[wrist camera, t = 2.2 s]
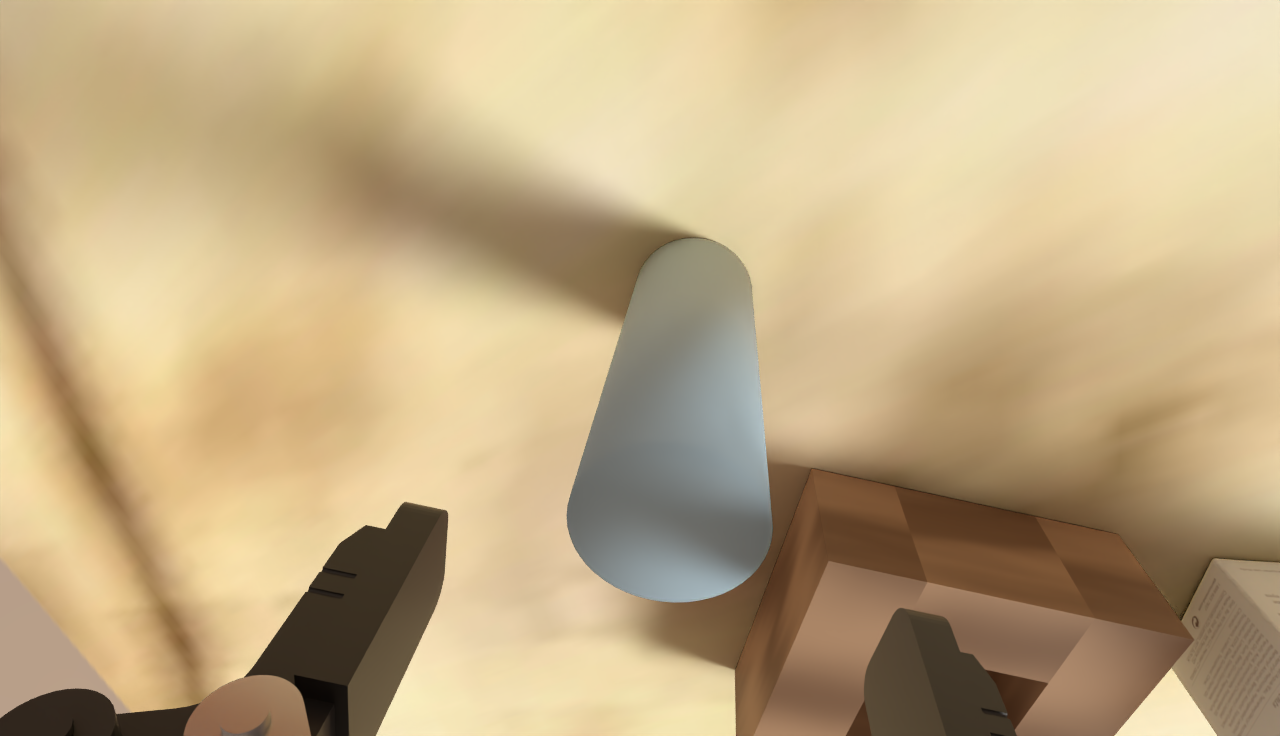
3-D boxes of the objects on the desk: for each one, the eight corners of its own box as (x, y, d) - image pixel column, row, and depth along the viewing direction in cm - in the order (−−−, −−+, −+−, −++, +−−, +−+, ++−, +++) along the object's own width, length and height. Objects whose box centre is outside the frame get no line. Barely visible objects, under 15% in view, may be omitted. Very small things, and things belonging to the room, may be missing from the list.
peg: (646, 226, 23) (581, 421, 13) (765, 251, 23) (799, 468, 13) (626, 333, 25) (555, 578, 15) (735, 356, 25) (742, 619, 15)
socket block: (811, 468, 27) (828, 561, 23) (1118, 534, 27) (1194, 639, 23) (735, 670, 33) (736, 775, 28) (987, 725, 33) (1027, 839, 28)
